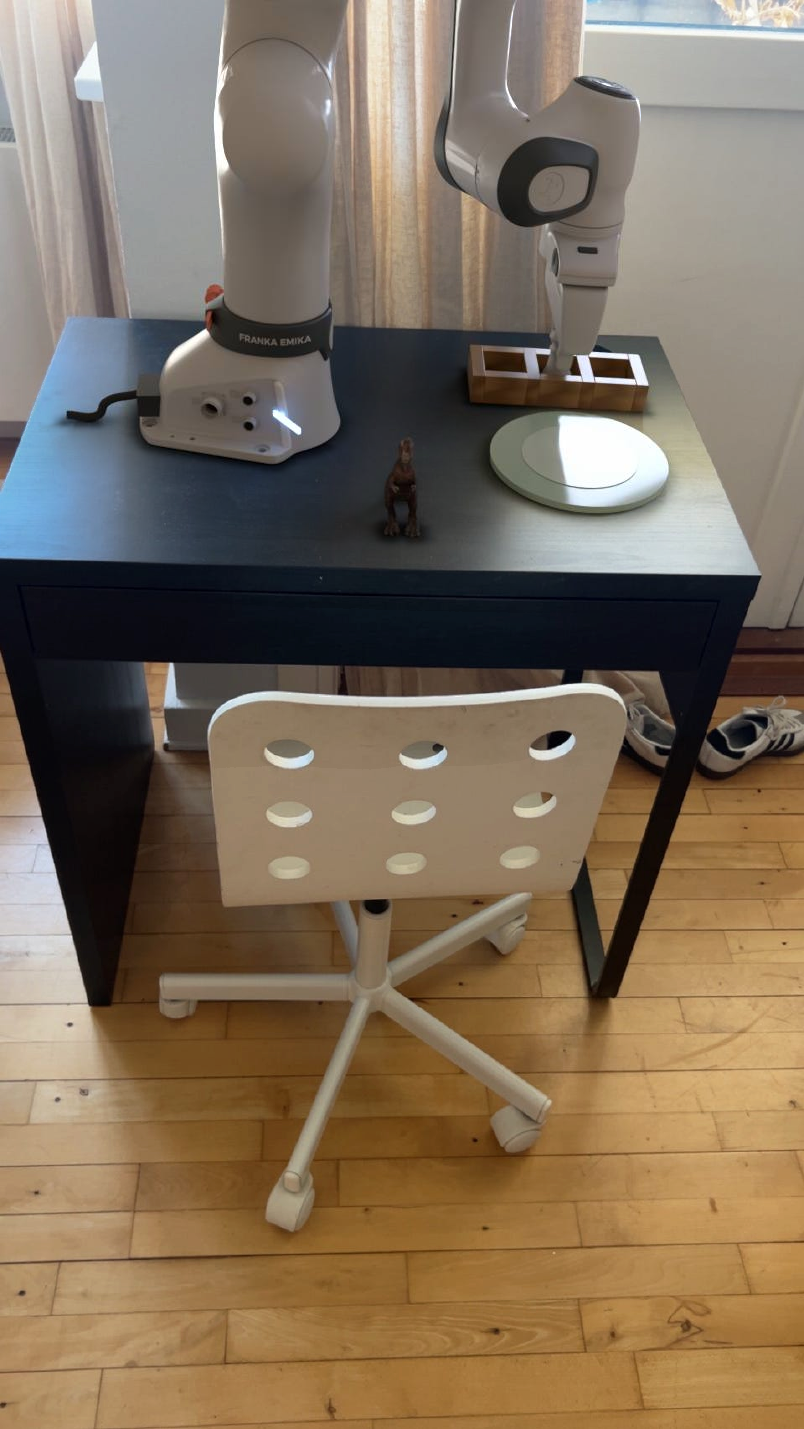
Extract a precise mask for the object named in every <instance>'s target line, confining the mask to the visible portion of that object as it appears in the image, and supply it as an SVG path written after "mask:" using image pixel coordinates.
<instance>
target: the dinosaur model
mask: <svg viewBox="0 0 804 1429" xmlns="http://www.w3.org/2000/svg"><path fill="white" fill-rule="evenodd" d="M397 447H398V454H399V455H398V458H397V459H396V461H395V462H394V463H393V466H392V469H391V470H390V473H389V474H388V475H387V478H386V481H385V484H384V501H385V502H384V505H385V508H386V511H387V516H388V518H387V519H388V520H387V526H386V527H385V529H384V530H383V532H384V535H385V536H390V537H393V536H395V535H396V536H397V535H399V533H400V531H401V529H400V526H399V524H398V523H399V522H398V518H397V511H396V508H395V505H394V502H395V501H399V502H402V503H403V502H405V503H406V504H407V508H408V514H407V524H406V526H405V528H404V535H405V536H409V537H411V538H414V537H419V536H420V535H421V534H420V533H421V532H420V526H419V520H418V517H417V510H418V489H417V488H418V480H417V473H416V468H415V466H414V465H413V463H412V459H413V458H412V457H413V455H414V452H415V451H414V450H415V446H414V441H413V439H412V438H411V437H402V438H401V440H400V441H399V443H398V446H397Z"/></svg>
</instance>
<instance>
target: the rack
mask: <svg viewBox="0 0 804 1429" xmlns="http://www.w3.org/2000/svg"><path fill="white" fill-rule="evenodd" d="M550 351H551V350H550V348H536V347H521V346H520V347H519V346H518V347H517V346H505V345H504V346H501V345H485V344H483V345H481V344H470V345H469V352H468V361H467V372H466V373H467V382H468V393H469V402H470V403H477V404H479V403H481V404H492V405H493V404H494V405H495V404H496V405H512V406H529V407H545V408H546V407H547V408H563V409H564V408H565V409H581V410H600V411H619V412H620V411H621V412H632V413H633V412H636V413H644V410H645V407H646V402H647V398H648V393H649V389H650V384H649V381H648V378H647V374H646V372H645V369H644V366H643V362H642V359H641V356H640V354H637V353H636V354H633V353H619V352H618V353H617V352H599V351H592V352H591V353H590V354H589V355H585V356H584V355H574V356H573V360H572V365H571V368H570V369H569V370H570V372H571V375H554V374H541V372H543V369H544V368H545V367H546V365H547V362H548V359H549V356H550Z"/></svg>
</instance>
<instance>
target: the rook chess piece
mask: <svg viewBox="0 0 804 1429" xmlns="http://www.w3.org/2000/svg"><path fill="white" fill-rule="evenodd" d="M549 339H550V341H551V340H552V343H551V344H550V346H548V349H550V350H551V351H550V356H549V359H548V362H547V365H546V367H545V368H544V369H543V372H541V374H554V375H571V372H570V370H569V369H568V370H564V369H558V368H557V367H556V362H555V358H556V352H557V349H558V347H559V344H558V339H557V335H556V330H555V327H554V330H553V331H552V332H551V331H550V333H549Z"/></svg>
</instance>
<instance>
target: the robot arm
mask: <svg viewBox="0 0 804 1429" xmlns="http://www.w3.org/2000/svg"><path fill="white" fill-rule="evenodd" d="M349 2H350V0H224V8H223V9H224V10H223V19H222V30H221V37H220V38H221V39H220V40H221V41H220V48H219V49H220V52H219V59H218V60H219V61H218V70H217V79H216V80H217V81H216V91H215V100H214V101H215V103H214V113H213V126H214V144H215V147H214V148H215V162H216V176H217V177H216V178H217V190H218V191H217V192H218V205H219V217H220V232H221V251H222V252H221V257H222V258H221V259H222V260H221V261H222V280H223V281H222V283H223V287H222V286H221V285H219V284H211V285H209V286H208V288H207V289H206V292H205V295H204V302H205V304H206V305H205V318H204V320H205V329H202V330H201V331H200V332H198V333H196V334H195V335H194V336H192V337H191V338H189V339H187V340H186V341H184V342H182V343H181V344H180V345H178V346H177V347H175V348H174V349H173V350H172V351H171V353H170V354H169V355H168V357H167V359H166V361H165V363H164V365H163V367H162V370H161V373H137V384H136V389H135V390H128V391H121V392H116V393H112V394H109V395H107V396H105V397H104V398H102V399H101V400H100V402H99V403H98V405H97V409H96V410H95V411H93V412H83V411H77V410H66V420H74V421H81V422H95V421H98V420H100V419H102V418H104V416H105V415H106V413H107V410H108V407H110V406H111V405H113V404H115V403H119V402H124V401H125V402H126V401H131V400H136V407H137V415H138V418H139V430H140V434H141V435H142V438H143V439H144V440H145V441H146V443H148V444H149V445H152V446H157V447H164V448H170V449H174V450H181V451H188V452H194V453H198V454H199V453H200V454H206V455H211V456H217V457H225V458H230V459H231V458H232V459H237V460H243V461H249V462H256V463H261V464H267V465H276V464H281V463H282V462H284V461H286V460H287V459H289V458H290V457H292V456H293V455H294V454H298V453H300V452H304V451H307V450H310V449H313V448H315V447H318V446H321V445H322V444H325V443H326V442H328V441H330V440H331V439H332V438H333V437H334V436H335V435H336V434H337V432H338V431H339V429H340V426H341V417H340V414H339V410H338V407H337V406H338V405H337V403H336V398H335V393H334V388H333V382H332V373H331V362H330V361H331V360H330V356H331V354H332V350H333V344H334V313H333V302H332V300H331V299H330V297H329V296H330V295H329V294H330V289H329V288H330V257H331V256H330V253H331V250H330V249H331V223H332V211H333V209H332V208H333V196H334V195H333V194H334V177H335V176H334V174H335V171H334V170H335V157H336V155H335V154H336V132H337V131H336V130H337V127H336V126H337V121H336V113H335V106H334V76H335V69H336V64H337V57H338V53H339V47H340V42H341V39H342V38H341V37H342V33H343V29H344V28H343V27H344V24H345V19H346V15H347V10H348V6H349ZM517 2H518V0H451V10H450V12H451V13H450V26H449V27H450V28H449V46H448V61H447V64H448V66H447V79H446V89H445V95H444V98H443V103H442V106H441V110H440V112H439V113H440V114H439V116H438V119H437V122H436V123H437V124H436V127H435V132H434V135H433V136H434V137H433V158H434V162H435V165H436V169H437V170H438V172H439V175H440V176H441V177H442V178H443V180H444V181H445V182H446V183H447V184H448V185H450V186H451V187H452V188H454V189H456V190H458V191H460V192H461V193H464V194H466V195H468V196H470V197H472V198H473V199H475V200H476V201H477V202H479V203H480V204H482V205H483V206H485V207H486V208H487V209H488V210H490V211H492V212H494V213H495V214H496V215H498V216H500V217H501V218H503V219H504V220H505V221H507V222H509V223H511V224H513V225H515V226H518V227H521V228H534V227H535V228H536V227H540V226H541V229H540V237H539V242H538V252H539V255H540V256H541V257H542V258H543V259H544V260H546V265H545V271H544V272H545V274H544V284H545V290H546V294H547V298H548V303H549V308H550V312H551V330H550V333H551V332H552V331H553V330H554V327H555V330H556V335H557V339H558V344H559V347H558V349H557V352H556V358H555V362H556V367H557V368H558V369H564V370H568V369H570V368H571V365H572V360H573V356H574V355H584V356H585V355H589V354H590V353H591V352H593V350H594V348H595V346H596V344H597V340H598V337H599V334H600V329H601V326H602V322H603V318H604V314H605V311H606V306H607V302H608V296H609V288H613V287H615V286H616V282H617V277H618V272H619V269H618V268H619V260H618V254H619V249H620V245H621V237H622V233H623V226H624V223H625V222H624V221H625V217H626V209H625V208H626V206H625V198H626V193H627V190H628V188H629V186H630V184H631V182H632V179H633V175H634V171H635V165H636V160H637V154H638V148H639V141H640V132H641V131H640V130H641V105H640V101H639V99H638V98H637V96H636V94H635V93H633V91H631V90H630V89H628V88H626V87H625V86H623V85H621V84H618V83H617V82H613V81H610V80H607V79H606V78H602V77H598V76H591V75H580V76H575V77H573V78H572V79H570V81H569V83H568V85H567V87H566V88H565V90H564V91H563V92H562V93H561V94H560V95H559V96H558V97H557V98H556V99H554V101H552V102H551V103H549V104H548V105H546V106H545V107H544V108H542V109H540V110H539V111H536V112H534V113H532V114H529V115H528V114H526V113H525V112H524V111H521V110H520V109H519V108H518V107H517V106H516V103H515V102H514V101H513V98H512V96H511V94H510V92H509V88H508V83H507V82H508V81H507V78H508V70H509V69H508V68H509V59H510V58H509V57H510V46H511V36H512V24H513V15H514V10H515V6H516V3H517ZM550 343H551V344H552V340H551V339H550Z"/></svg>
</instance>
